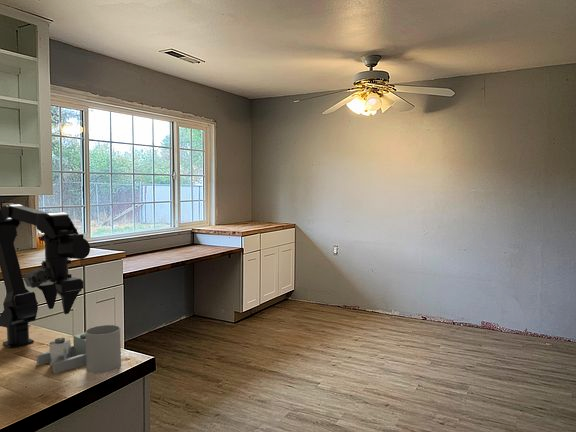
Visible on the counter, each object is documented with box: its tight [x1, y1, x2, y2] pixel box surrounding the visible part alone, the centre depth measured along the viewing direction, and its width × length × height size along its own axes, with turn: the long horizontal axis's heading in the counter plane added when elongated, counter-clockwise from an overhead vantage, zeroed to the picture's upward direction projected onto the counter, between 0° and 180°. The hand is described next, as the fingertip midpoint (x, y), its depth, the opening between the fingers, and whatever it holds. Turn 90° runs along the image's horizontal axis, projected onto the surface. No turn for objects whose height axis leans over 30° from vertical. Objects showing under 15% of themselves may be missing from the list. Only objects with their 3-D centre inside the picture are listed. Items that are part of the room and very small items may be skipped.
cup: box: [84, 324, 122, 374], centre depth 119 cm, size 8×8×10 cm
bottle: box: [48, 337, 72, 368], centre depth 121 cm, size 5×5×7 cm
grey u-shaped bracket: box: [35, 332, 87, 375], centre depth 123 cm, size 10×14×6 cm
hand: (58, 311), depth 129 cm, fingers open, 9 cm apart
